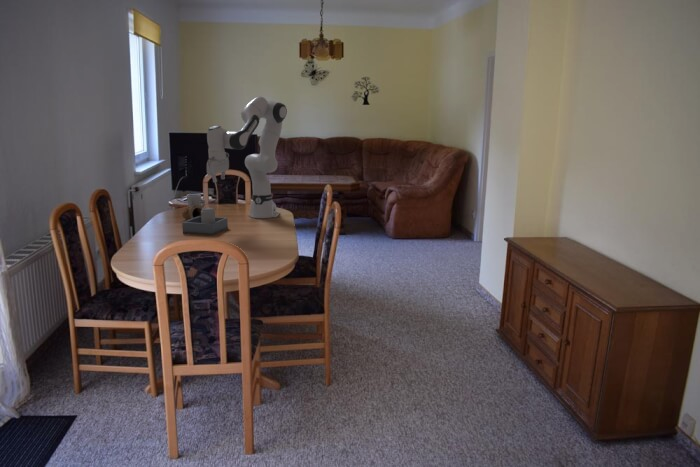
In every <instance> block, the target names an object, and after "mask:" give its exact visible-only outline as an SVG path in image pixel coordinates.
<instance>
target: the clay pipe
mask: <svg viewBox="0 0 700 467" xmlns="http://www.w3.org/2000/svg"><path fill="white" fill-rule="evenodd" d="M202 208H203V207H200V206H199V205H194V206H191V207H188V206H187V207H186V208H184V209H183V211H182V214H181V216H182V218H183V219H185V221H187V220H190V219H193V218H195V217H198V216H201V211H202Z"/></svg>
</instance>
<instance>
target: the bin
mask: <svg viewBox="0 0 700 467" xmlns="http://www.w3.org/2000/svg"><path fill="white" fill-rule="evenodd" d="M181 224H182V226H181V227H182V234H189V235H191V234H192V235H209V236H213V235H214V236H215V235H216V234H219V233H221V232H222V231H225V230H227V229H229V228H228V227H229V225H228V224H229V222H228V217H219V216H215V223H212V224H207V223H202V222H201V216H198V217H195V218H193V219H190V220H185V221H182V223H181Z"/></svg>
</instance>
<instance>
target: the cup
mask: <svg viewBox="0 0 700 467" xmlns="http://www.w3.org/2000/svg"><path fill="white" fill-rule="evenodd" d="M186 200H187V208H188V207H191V206H194V205H199V206H200V207H202V208H205V206H206V200H205V199H203V198H202V195H201V194H198V193H197V194H196V193H191V194H187V195H186Z"/></svg>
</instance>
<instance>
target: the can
mask: <svg viewBox="0 0 700 467" xmlns="http://www.w3.org/2000/svg"><path fill="white" fill-rule="evenodd" d="M215 217H216V210H215V209H214V207H211V206H209V207H202V211H201V222H202V223H207V224H212V223H215Z"/></svg>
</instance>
